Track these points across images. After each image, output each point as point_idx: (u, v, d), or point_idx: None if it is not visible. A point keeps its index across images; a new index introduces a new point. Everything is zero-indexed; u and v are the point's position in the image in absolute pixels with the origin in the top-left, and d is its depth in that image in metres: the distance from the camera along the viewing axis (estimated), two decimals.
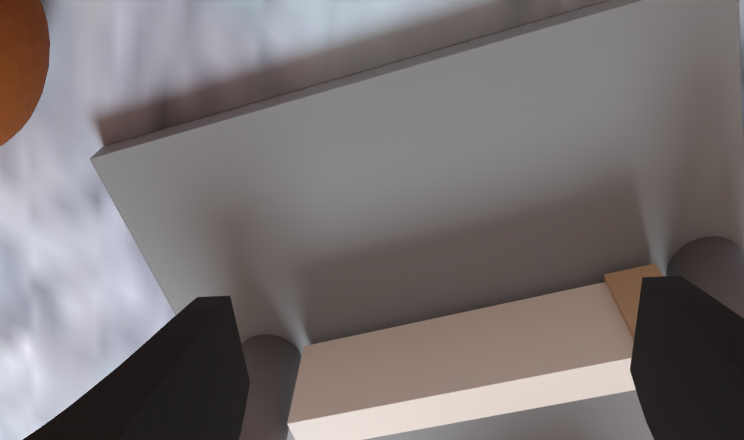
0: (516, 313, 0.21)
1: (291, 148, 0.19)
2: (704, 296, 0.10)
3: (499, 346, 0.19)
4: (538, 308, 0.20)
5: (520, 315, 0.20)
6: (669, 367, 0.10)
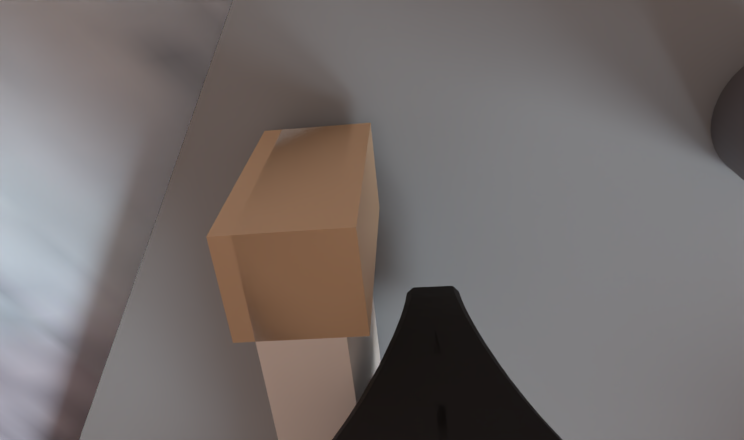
0: None
1: (157, 409, 0.15)
2: (454, 306, 0.10)
3: None
4: None
5: None
6: None
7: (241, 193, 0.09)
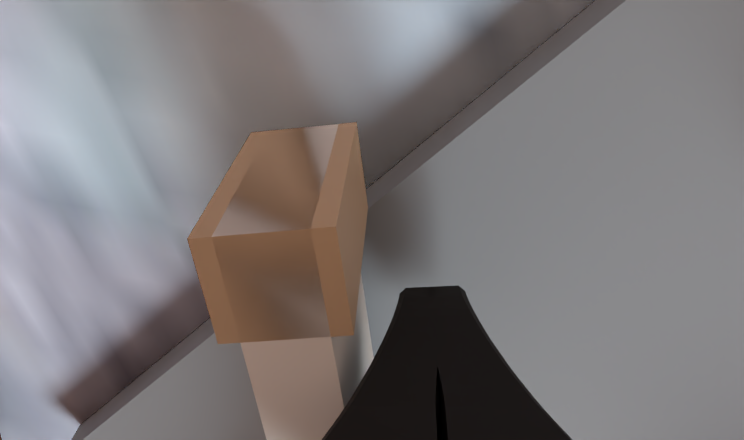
0: None
1: None
2: (461, 306, 0.10)
3: None
4: None
5: None
6: None
7: (224, 195, 0.09)
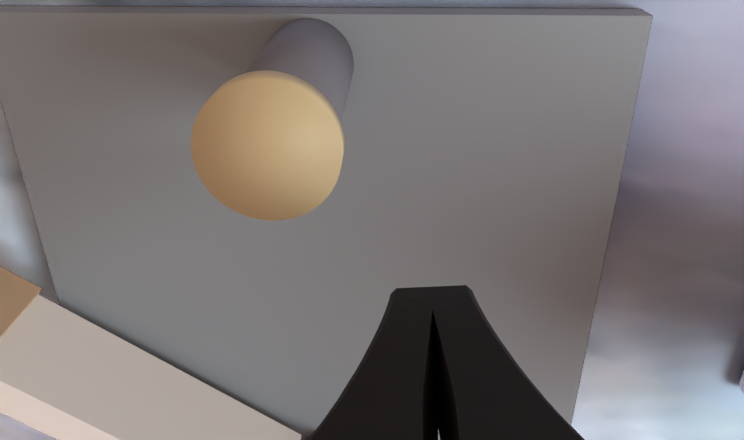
0: None
1: None
2: (469, 306, 0.10)
3: None
4: None
5: None
6: (438, 375, 0.10)
7: None
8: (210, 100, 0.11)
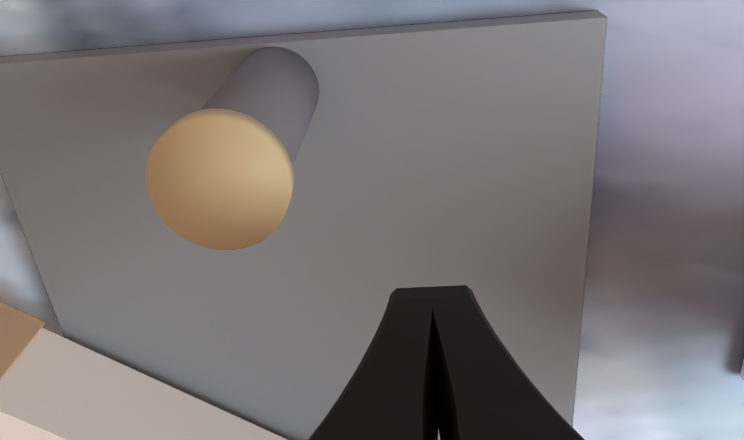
0: None
1: None
2: (469, 306, 0.10)
3: None
4: None
5: None
6: (438, 375, 0.10)
7: None
8: (158, 141, 0.12)
